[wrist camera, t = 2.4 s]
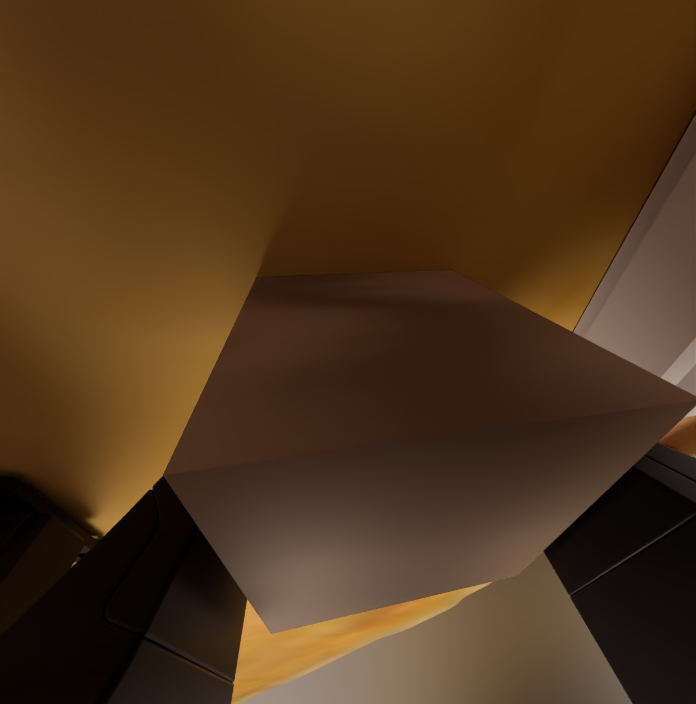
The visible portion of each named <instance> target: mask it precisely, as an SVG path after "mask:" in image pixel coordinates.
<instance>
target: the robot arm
mask: <svg viewBox="0 0 696 704" xmlns="http://www.w3.org/2000/svg"><path fill="white" fill-rule="evenodd" d="M543 552H544V553H545V555H546V557H547V558H548V560H549V562H550V564H551V565H552V567H553V569H554V570H555V572H556V574H557V575H558V577H559V579H560V580H561V582H562V584H563V586H564V587H565V589H566V591H567V592H568V594H569V595H570V598H571V600H572V601H573V603H574V605H575V607H576V608H577V610H578V611H579V613H580V615H581V617H582V618H583V620H584V622H585V624H586V625H587V627H588V629H589V630H590V632H591V634H592V635H593V637H594V639H595V640H596V642H597V644H598V646H599V647H600V649H601V651H602V652H603V654H604V656H605V657H606V659H607V661H608V662H609V664H610V666H611V667H612V669H613V671H614V673H615V674H616V676H617V678H618V680H619V681H620V683H621V685H622V686H623V688H624V690H625V691H626V693H627V695H628V697H629V698H630V700H631V702H632V703H633V704H696V458H694V457H692V456H689V455H687V454H684V453H682V452H679V451H677V450H674V449H672V448H669V447H667V446H664V445H662V444H659V443H656V444H655V445H654V446H653V447H652V448H651V449H650V450H649V451H648V452H647V453H646V454H645V455H644V456H643V457H642V458H640V459H639V460H638V461H637V462H636V463H635V464H634V465H633V466H632V467H631V468H630V469H629V470H628V471H627V472H626V473H625V474H624V475H623V476H622V477H620V478H619V479H618V480H617V481H616V482H615V483H614V484H613V485H612V486H611V487H610V488H609V489H608V490H607V491H606V492H605V493H604V494H603V495H602V496H600V497H599V498H598V499H597V500H596V501H595V502H594V503H593V504H592V505H591V506H590V507H589V508H588V509H587V510H586V511H585V512H584V513H583V514H582V515H580V516H579V517H578V518H577V519H576V520H575V521H574V522H573V523H572V524H571V525H570V526H569V527H568V528H567V529H566V530H565V531H564V532H563V533H562V534H560V535H559V536H558V537H557V538H556V539H555V540H554V541H553V542H552V543H551V544H550V545H549V546H548V547H547V548H546V549H545V550H544V551H543ZM74 562H77V563H76V564H74V565H73V563H74ZM72 565H73V566H72ZM246 603H247V598H246V596H245V595H244V593H243V592H242V590H241V589H240V587H239V586H238V584H237V583H236V581H235V580H234V579H233V577H232V576H231V574H230V573H229V571H228V570H227V568H226V567H225V565H224V564H223V562H222V561H221V559H220V558H219V557H218V555H217V554H216V552H215V551H214V549H213V548H212V546H211V545H210V543H209V542H208V540H207V539H206V538H205V536H204V535H203V533H202V532H201V530H200V529H199V527H198V526H197V524H196V523H195V521H194V520H193V518H192V517H191V516H190V514H189V513H188V511H187V510H186V508H185V507H184V505H183V504H182V502H181V501H180V499H179V498H178V496H177V495H176V494H175V492H174V491H173V489H172V488H171V486H170V485H169V483H168V482H167V480H166V479H165V477H164V476H162V477H161V478H160V479H159V480H158V481H157V482H156V484H155V485H154V486H153V490H149V491H148V492H147V493H146V494H145V495H144V496H143V497H142V498H141V499H140V500H139V501H138V502H137V503H136V504H135V505H134V506H133V507H132V508H131V510H130V511H129V512H128V513H127V514H126V515H125V516H124V517H123V518H122V519H121V520H120V521H119V522H118V523H117V524H116V525H115V526H114V527H113V528H112V529H111V530H110V531H109V532H108V533H107V534H106V535H105V536H104V537H103V538H102V539H101V540H100V541H99V542H98V541H97V540H96V539H94V538H93V537H92V536H91V535H89V534H88V533H87V532H86V531H84V530H83V529H82V528H81V527H80V526H78V525H77V524H76V523H75V522H73V521H72V520H71V519H70V518H68V517H67V516H66V515H65V514H63V513H62V512H61V511H60V510H58V509H57V508H56V507H55V506H53V505H52V504H51V503H50V502H49V501H47V500H46V499H45V498H44V497H42V496H41V495H40V494H39V493H37V492H36V491H35V490H34V489H32V488H31V487H30V486H29V485H27V484H26V483H25V482H24V481H22V480H20V479H17V478H14V477H8V476H0V704H231V700H232V693H233V687H234V684H233V682H234V679H235V673H236V667H237V660H238V654H239V648H240V641H241V635H242V629H243V622H244V616H245V610H246Z"/></svg>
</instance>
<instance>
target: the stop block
mask: <svg viewBox="0 0 696 704" xmlns="http://www.w3.org/2000/svg"><path fill="white" fill-rule="evenodd" d="M695 406H696V396H695V395H693V394H691V393H689V392H687V391H685V390H683V389H681V388H679V387H677V386H675V385H674V384H672V383H670V382H668V381H666V380H664V379H662V378H660V377H658V376H656V375H654V374H652V373H650V372H648V371H647V370H645V369H643V368H641V367H639V366H637V365H635V364H633V363H631V362H629V361H627V360H625V359H623V358H621V357H620V356H618V355H616V354H614V353H612V352H610V351H608V350H606V349H604V348H602V347H600V346H598V345H596V344H594V343H593V342H591V341H589V340H587V339H585V338H583V337H581V336H579V335H577V334H575V333H573V332H571V331H569V330H567V329H566V328H564V327H562V326H560V325H558V324H556V323H554V322H552V321H550V320H548V319H546V318H544V317H542V316H540V315H539V314H537V313H535V312H533V311H531V310H529V309H527V308H525V307H523V306H521V305H519V304H517V303H515V302H513V301H512V300H510V299H508V298H506V297H504V296H502V295H500V294H498V293H496V292H494V291H492V290H490V289H488V288H487V287H485V286H483V285H481V284H479V283H477V282H475V281H473V280H471V279H469V278H467V277H465V276H463V275H461V274H460V273H458V272H456V271H454V270H430V271H403V272H377V273H350V274H324V275H297V276H271V277H256V279H255V281H254V284H253V286H252V288H251V290H250V292H249V294H248V296H247V298H246V300H245V303H244V305H243V307H242V309H241V311H240V313H239V315H238V317H237V319H236V322H235V324H234V326H233V328H232V330H231V332H230V334H229V336H228V339H227V341H226V343H225V345H224V347H223V349H222V351H221V353H220V355H219V358H218V360H217V362H216V364H215V366H214V368H213V370H212V372H211V374H210V377H209V379H208V381H207V383H206V385H205V387H204V389H203V391H202V393H201V396H200V398H199V400H198V402H197V404H196V406H195V408H194V410H193V413H192V415H191V417H190V419H189V421H188V423H187V425H186V427H185V429H184V432H183V434H182V436H181V438H180V440H179V442H178V444H177V446H176V448H175V451H174V453H173V455H172V457H171V459H170V461H169V463H168V465H167V468H166V470H165V472H164V474H163V476H164V477H165V479H166V480H167V482H168V483H169V485H170V486H171V488H172V489H173V491H174V492H175V494H176V495H177V496H178V498H179V499H180V501H181V502H182V504H183V505H184V507H185V508H186V510H187V511H188V513H189V514H190V516H191V517H192V518H193V520H194V521H195V523H196V524H197V526H198V527H199V529H200V530H201V532H202V533H203V535H204V536H205V538H206V539H207V540H208V542H209V543H210V545H211V546H212V548H213V549H214V551H215V552H216V554H217V555H218V557H219V558H220V559H221V561H222V562H223V564H224V565H225V567H226V568H227V570H228V571H229V573H230V574H231V576H232V577H233V579H234V580H235V581H236V583H237V584H238V586H239V587H240V589H241V590H242V592H243V593H244V595H245V596H246V598H247V599H248V601H249V602H250V603H251V605H252V606H253V608H254V609H255V611H256V612H257V614H258V615H259V617H260V618H261V620H262V621H263V623H264V624H265V625H266V627H267V628H268V630H269V631H270V633H271V634H273V633H277V632H281V631H285V630H290V629H294V628H298V627H302V626H306V625H311V624H315V623H319V622H323V621H328V620H332V619H336V618H340V617H344V616H349V615H353V614H357V613H361V612H366V611H370V610H374V609H378V608H382V607H387V606H391V605H395V604H399V603H404V602H408V601H412V600H416V599H420V598H425V597H429V596H433V595H437V594H442V593H446V592H450V591H454V590H458V589H463V588H467V587H471V586H475V585H480V584H484V583H488V582H492V581H496V580H501V579H505V578H509V577H513V576H517V575H518V574H519V573H520V572H521V571H523V569H525V568H526V567H527V566H528V565H529V564H530V563H531V562H532V561H533V560H534V559H535V558H536V557H537V556H538V555H539V554H540V553H541V552H543V551H544V550H545V549H546V548H547V547H548V546H549V545H550V544H551V543H552V542H553V541H554V540H555V539H556V538H557V537H558V536H559V535H560V534H562V533H563V532H564V531H565V530H566V529H567V528H568V527H569V526H570V525H571V524H572V523H573V522H574V521H575V520H576V519H577V518H578V517H579V516H580V515H582V514H583V513H584V512H585V511H586V510H587V509H588V508H589V507H590V506H591V505H592V504H593V503H594V502H595V501H596V500H597V499H598V498H599V497H600V496H602V495H603V494H604V493H605V492H606V491H607V490H608V489H609V488H610V487H611V486H612V485H613V484H614V483H615V482H616V481H617V480H618V479H619V478H620V477H622V476H623V475H624V474H625V473H626V472H627V471H628V470H629V469H630V468H631V467H632V466H633V465H634V464H635V463H636V462H637V461H638V460H639V459H640V458H642V457H643V456H644V455H645V454H646V453H647V452H648V451H649V450H650V449H651V448H652V447H653V446H654V445H655V444H656V443H657V442H658V441H659V440H660V439H662V438H663V437H664V436H665V435H666V434H667V433H668V432H669V431H670V430H671V429H672V428H673V427H674V426H675V425H676V424H677V423H678V422H679V421H680V420H682V419H683V418H684V417H685V416H686V415H687V414H688V413H689V412H690V411H691V410H692V409H693V408H694V407H695Z"/></svg>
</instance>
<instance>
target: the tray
mask: <svg viewBox="0 0 696 704" xmlns="http://www.w3.org/2000/svg"><path fill="white" fill-rule="evenodd" d="M573 333H575V334H577V335H579V336H581V337H583V338H585V339H587V340H589V341H591V342H593V343H594V344H596V345H598V346H600V347H602V348H604V349H606V350H608V351H610V352H612V353H614V354H616V355H618V356H620V357H621V358H623V359H625V360H627V361H629V362H631V363H633V364H635V365H637V366H639V367H641V368H643V369H645V370H647V371H648V372H650V373H652V374H654V375H656V376H658V377H660V378H662V379H664V380H666V381H668V382H670V383H672V384H674V385H675V386H677V387H679V388H681V389H683V390H685V391H687V392H689V393H691V394H693V395H695V396H696V114H695V116H694V118H693V119H692V121H691V123H690V125H689V127H688V128H687V130H686V132H685V134H684V135H683V137H682V139H681V141H680V143H679V144H678V146H677V148H676V150H675V152H674V153H673V155H672V157H671V159H670V160H669V162H668V164H667V166H666V168H665V169H664V171H663V173H662V175H661V176H660V178H659V180H658V182H657V184H656V185H655V187H654V189H653V191H652V192H651V194H650V196H649V198H648V200H647V201H646V203H645V205H644V207H643V209H642V210H641V212H640V214H639V216H638V217H637V219H636V221H635V223H634V225H633V226H632V228H631V230H630V232H629V233H628V235H627V237H626V239H625V241H624V242H623V244H622V246H621V248H620V250H619V251H618V253H617V255H616V257H615V258H614V260H613V262H612V264H611V266H610V267H609V269H608V271H607V273H606V274H605V276H604V278H603V280H602V282H601V283H600V285H599V287H598V289H597V290H596V292H595V294H594V296H593V298H592V299H591V301H590V303H589V305H588V307H587V308H586V310H585V312H584V314H583V315H582V317H581V319H580V321H579V323H578V324H577V326H576V328H575V330H574V331H573ZM689 416H696V406H695V407H694V408H693V409H692V410H691V411H690V412H689V413H688V414H687V415H686V416H685V417H689Z"/></svg>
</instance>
